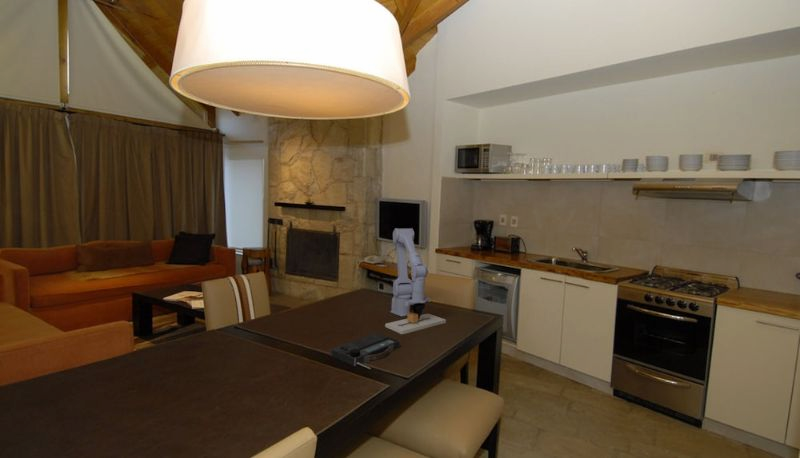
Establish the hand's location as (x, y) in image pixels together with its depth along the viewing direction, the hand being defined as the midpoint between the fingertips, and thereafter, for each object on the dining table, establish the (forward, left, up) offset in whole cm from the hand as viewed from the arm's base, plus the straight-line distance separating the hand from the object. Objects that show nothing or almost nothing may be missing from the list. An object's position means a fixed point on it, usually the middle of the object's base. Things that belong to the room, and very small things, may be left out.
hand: (417, 318), depth 191 cm
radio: (+16, -38, -4) cm, 41 cm away
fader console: (0, 0, -3) cm, 3 cm away
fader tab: (0, -3, -1) cm, 3 cm away
